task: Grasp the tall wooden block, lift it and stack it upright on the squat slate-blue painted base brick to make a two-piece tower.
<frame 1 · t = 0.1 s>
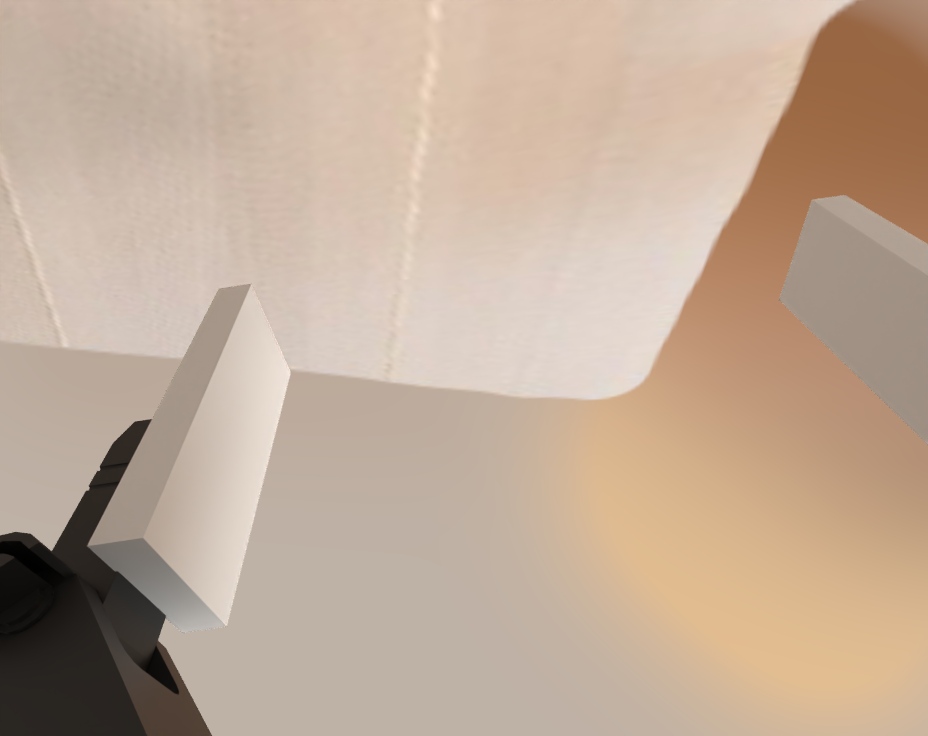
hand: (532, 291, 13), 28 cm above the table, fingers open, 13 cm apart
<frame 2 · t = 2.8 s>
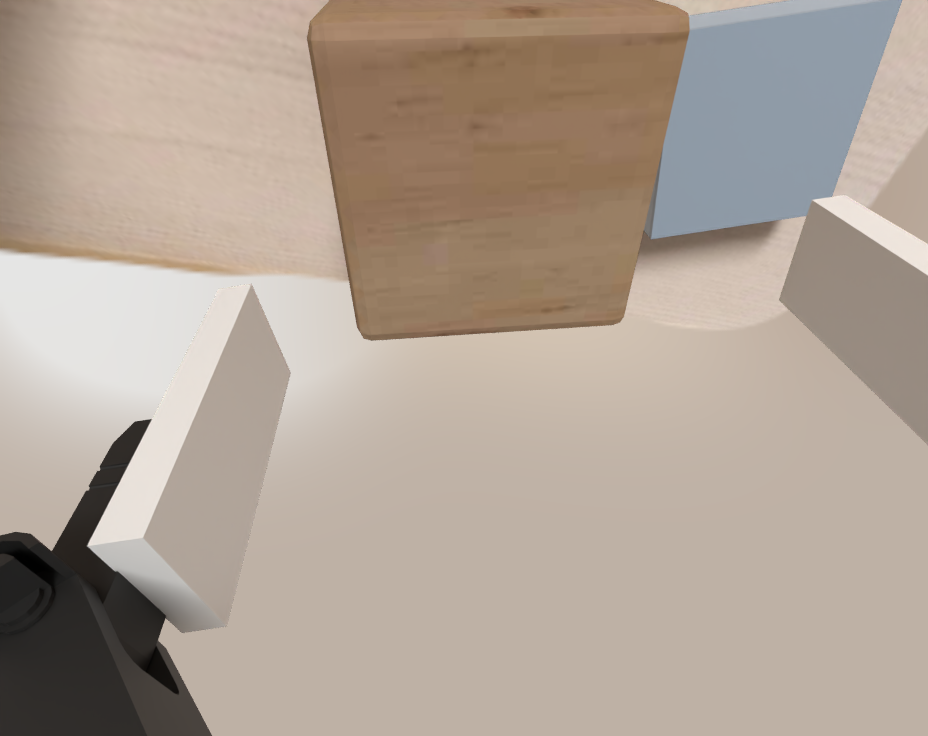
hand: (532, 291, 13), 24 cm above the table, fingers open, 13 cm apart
wooden block: (449, 70, 31), on the table
base brick: (729, 115, 34), on the table
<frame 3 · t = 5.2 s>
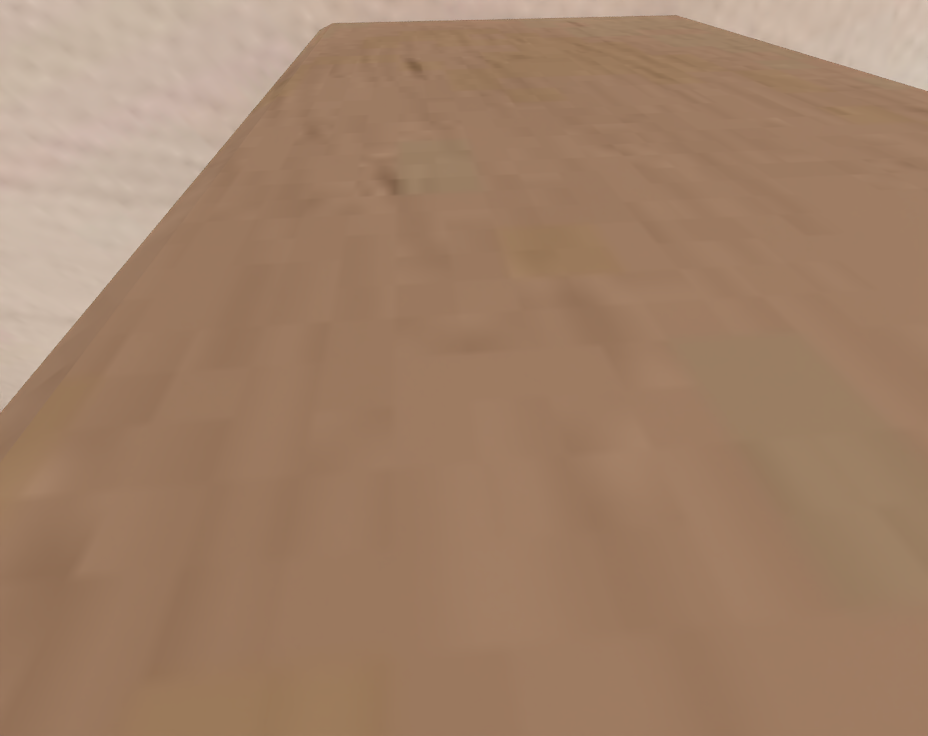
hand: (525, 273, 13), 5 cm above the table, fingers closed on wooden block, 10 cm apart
wooden block: (497, 197, 17), on the table, touching gripper
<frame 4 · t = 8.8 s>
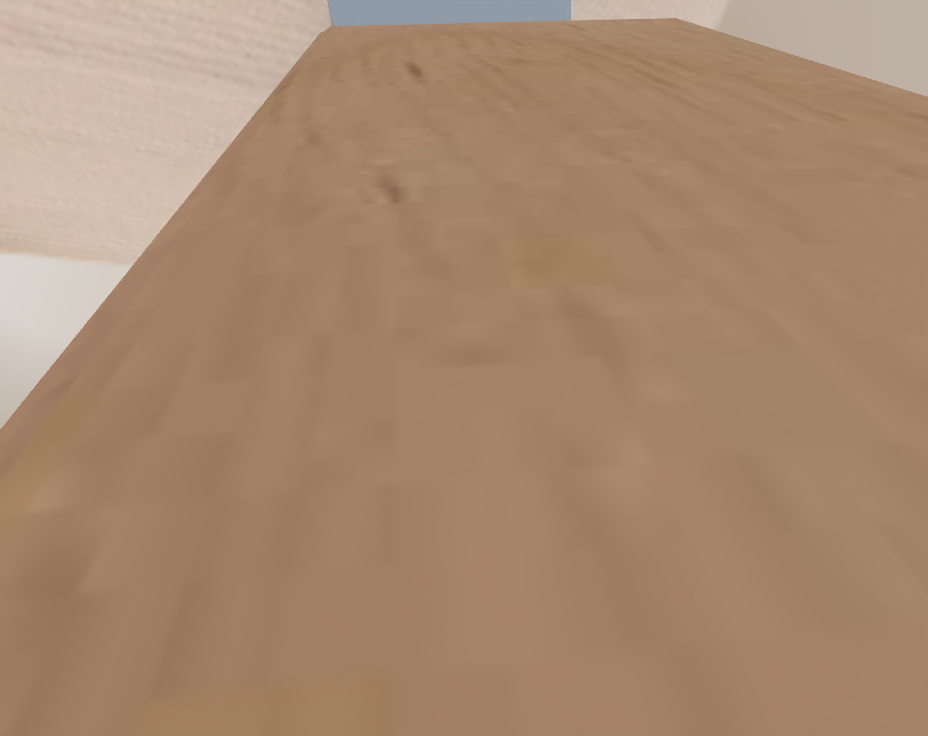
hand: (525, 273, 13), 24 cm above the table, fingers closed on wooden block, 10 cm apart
wooden block: (498, 199, 17), point 19 cm above the table, touching gripper
base brick: (455, 76, 32), on the table
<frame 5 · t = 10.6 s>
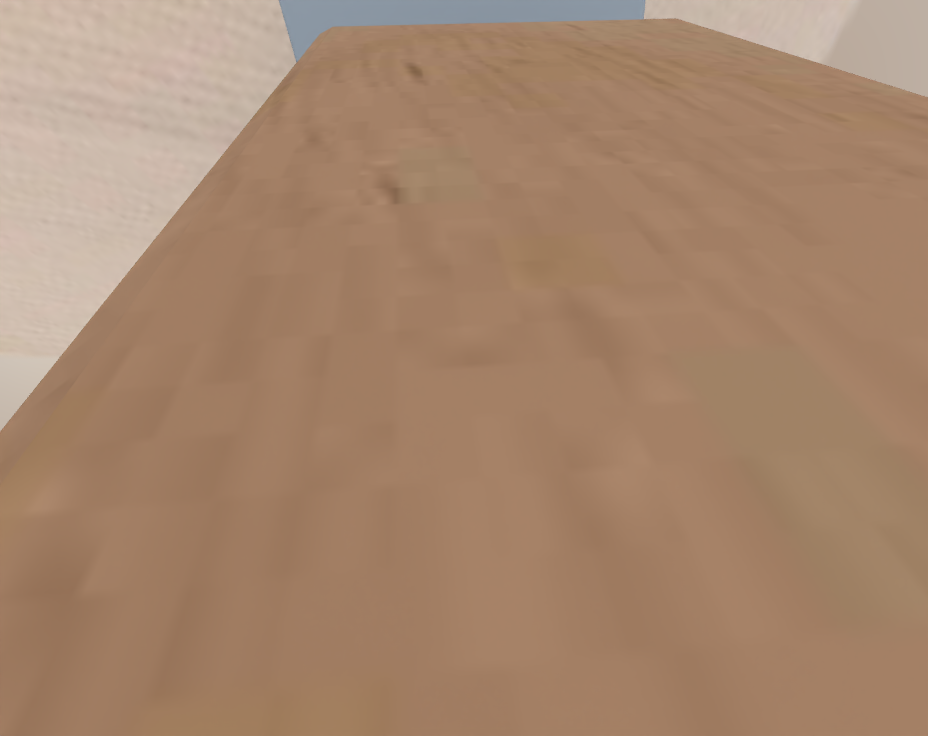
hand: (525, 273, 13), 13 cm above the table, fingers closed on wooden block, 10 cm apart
wooden block: (498, 199, 17), point 8 cm above the table, touching gripper
base brick: (470, 125, 23), on the table
when the fingers open (10 cm above the table, at t = 12.2 s): wooden block drops 1 cm, resting on base brick.
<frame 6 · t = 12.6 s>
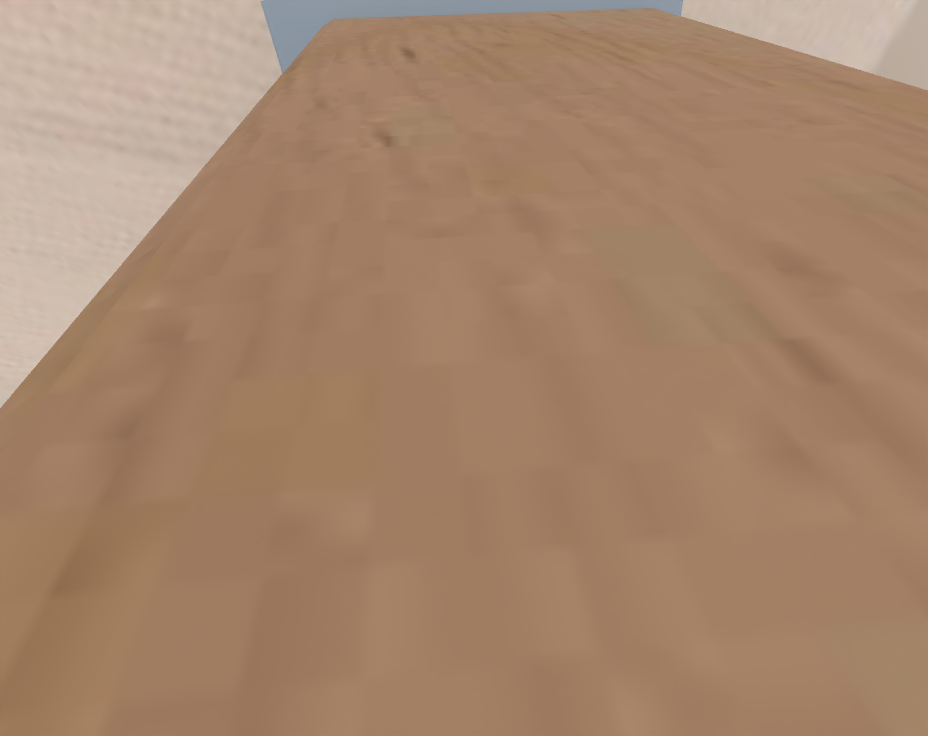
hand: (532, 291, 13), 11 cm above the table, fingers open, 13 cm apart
wooden block: (490, 181, 18), point 4 cm above the table, touching base brick
base brick: (479, 146, 21), on the table
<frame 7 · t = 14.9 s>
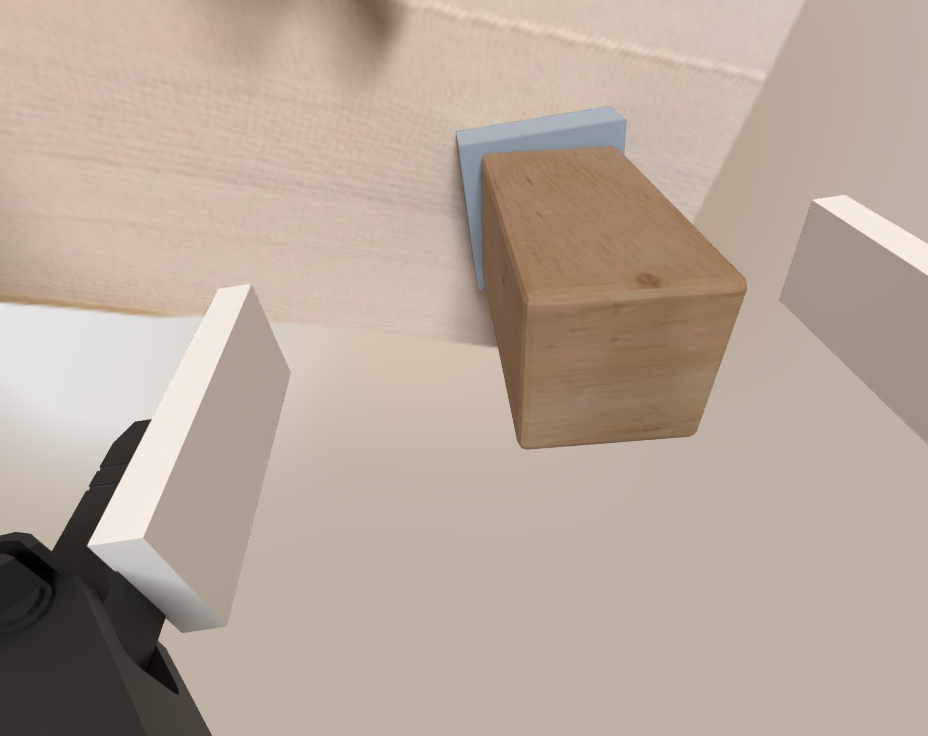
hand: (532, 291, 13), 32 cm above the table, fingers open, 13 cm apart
wooden block: (544, 212, 41), point 4 cm above the table, touching base brick
base brick: (536, 194, 44), on the table
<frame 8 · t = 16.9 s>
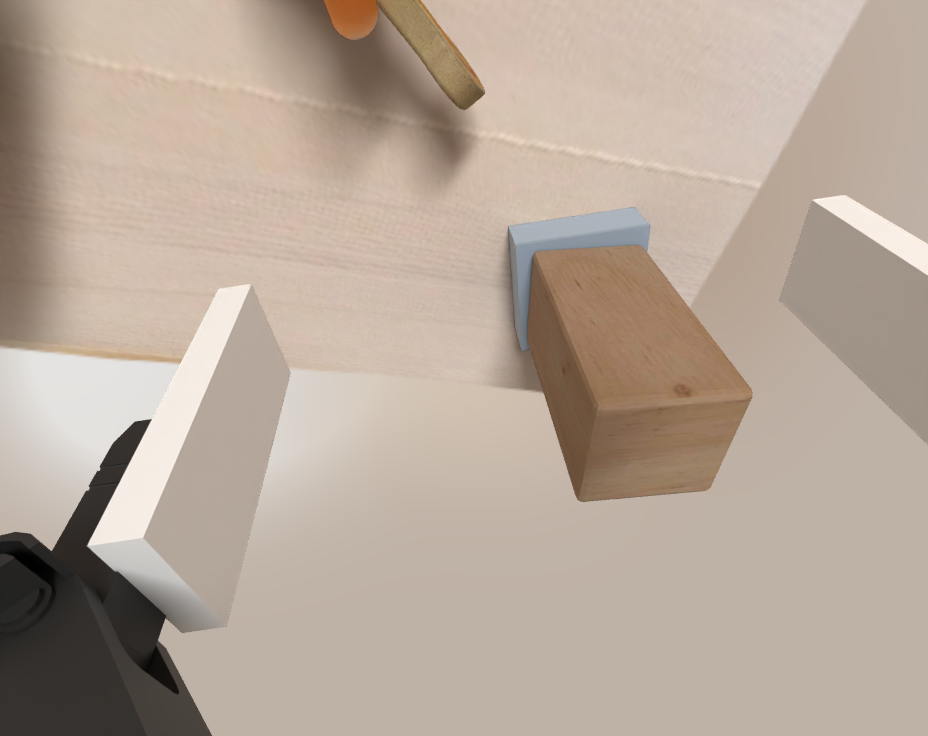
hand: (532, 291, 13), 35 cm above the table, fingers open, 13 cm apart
wooden block: (579, 292, 50), point 4 cm above the table, touching base brick
base brick: (570, 272, 53), on the table
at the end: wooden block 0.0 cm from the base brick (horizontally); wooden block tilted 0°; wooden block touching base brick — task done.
